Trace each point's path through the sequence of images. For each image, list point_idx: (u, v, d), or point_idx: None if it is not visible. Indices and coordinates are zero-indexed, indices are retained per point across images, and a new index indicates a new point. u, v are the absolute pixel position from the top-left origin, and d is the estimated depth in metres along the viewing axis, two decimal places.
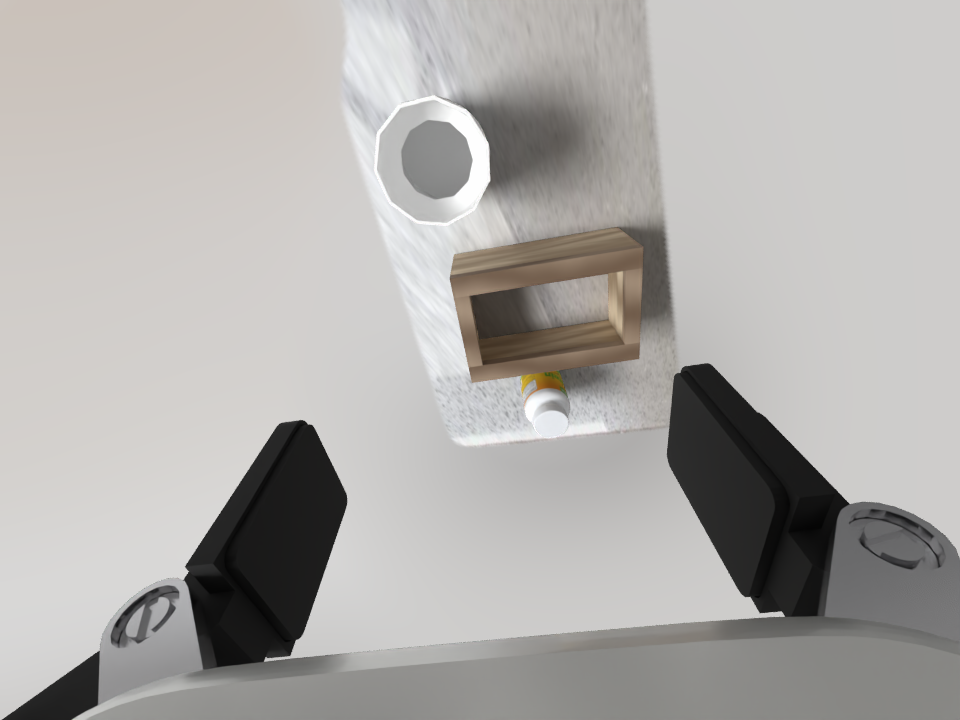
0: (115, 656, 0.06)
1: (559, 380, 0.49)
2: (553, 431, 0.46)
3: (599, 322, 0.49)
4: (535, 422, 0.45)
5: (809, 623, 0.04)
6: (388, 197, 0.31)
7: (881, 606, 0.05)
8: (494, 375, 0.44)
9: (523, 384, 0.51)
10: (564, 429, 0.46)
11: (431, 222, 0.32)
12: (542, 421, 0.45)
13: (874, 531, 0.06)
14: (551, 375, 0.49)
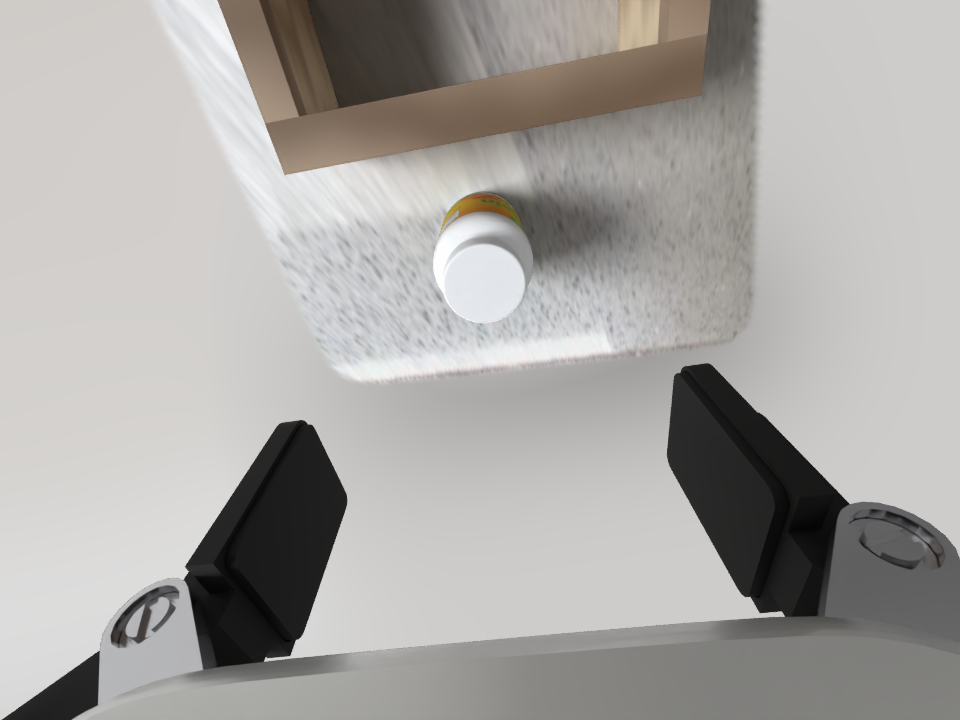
0: (115, 656, 0.06)
1: (512, 213, 0.23)
2: (490, 304, 0.19)
3: None
4: (445, 279, 0.19)
5: (809, 623, 0.04)
6: None
7: (881, 606, 0.05)
8: (336, 151, 0.17)
9: None
10: (516, 298, 0.19)
11: None
12: (463, 277, 0.19)
13: (874, 531, 0.06)
14: (494, 202, 0.23)
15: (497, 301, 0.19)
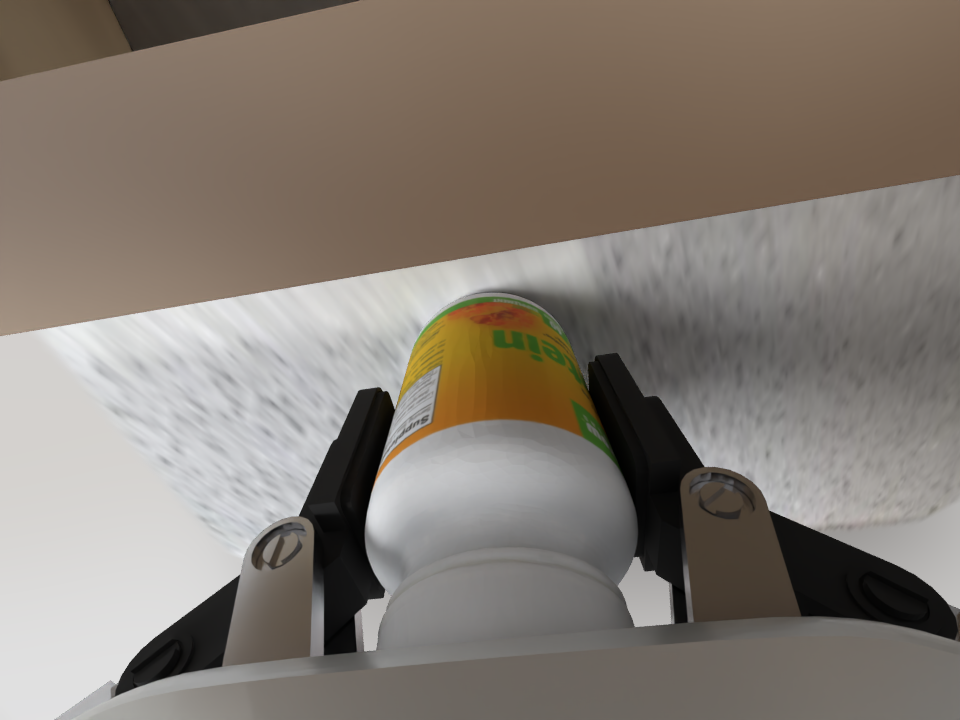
0: (261, 576, 0.07)
1: (569, 370, 0.10)
2: None
3: None
4: None
5: (809, 623, 0.04)
6: None
7: (691, 546, 0.06)
8: None
9: (401, 390, 0.11)
10: None
11: None
12: None
13: (707, 493, 0.07)
14: (525, 343, 0.10)
15: None
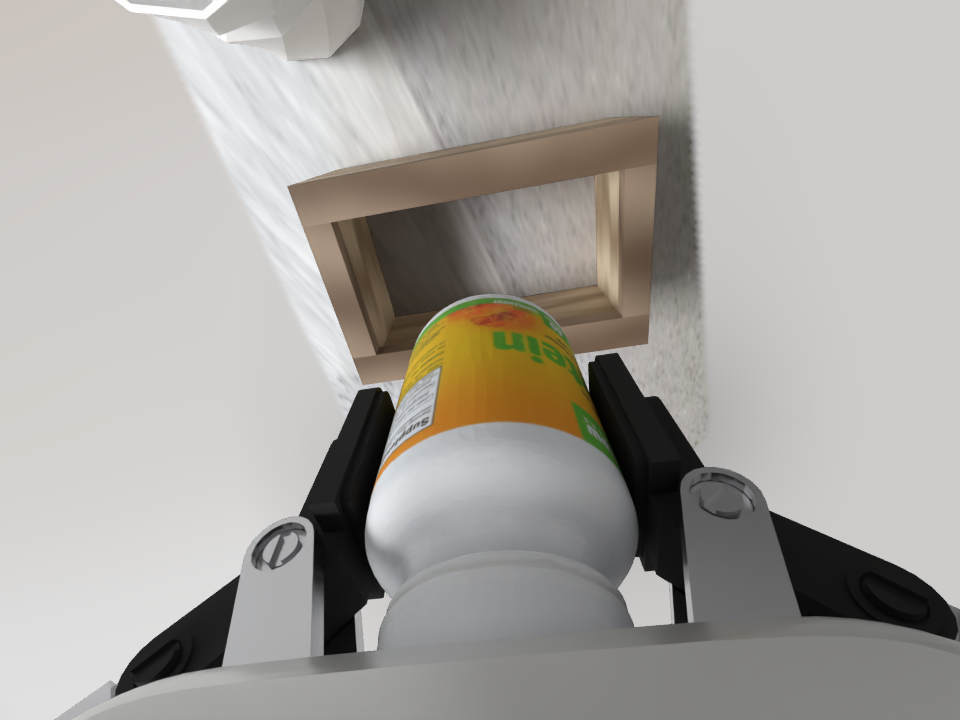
0: (261, 577, 0.07)
1: (569, 372, 0.10)
2: None
3: (583, 288, 0.31)
4: None
5: (810, 623, 0.04)
6: None
7: (691, 546, 0.06)
8: (399, 372, 0.26)
9: (401, 391, 0.11)
10: None
11: (167, 9, 0.14)
12: None
13: (707, 493, 0.07)
14: (526, 344, 0.10)
15: None
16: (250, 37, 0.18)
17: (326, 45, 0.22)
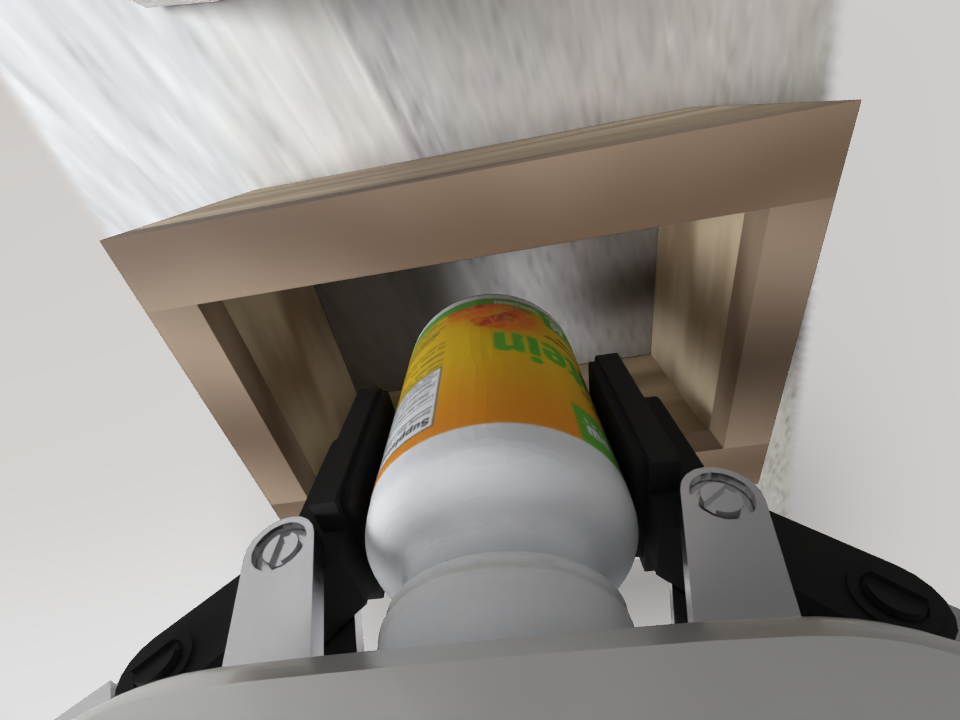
0: (261, 577, 0.07)
1: (569, 373, 0.10)
2: None
3: (630, 360, 0.21)
4: None
5: (809, 623, 0.04)
6: None
7: (691, 546, 0.06)
8: None
9: (401, 392, 0.11)
10: None
11: None
12: None
13: (707, 493, 0.07)
14: (525, 345, 0.10)
15: None
16: None
17: None
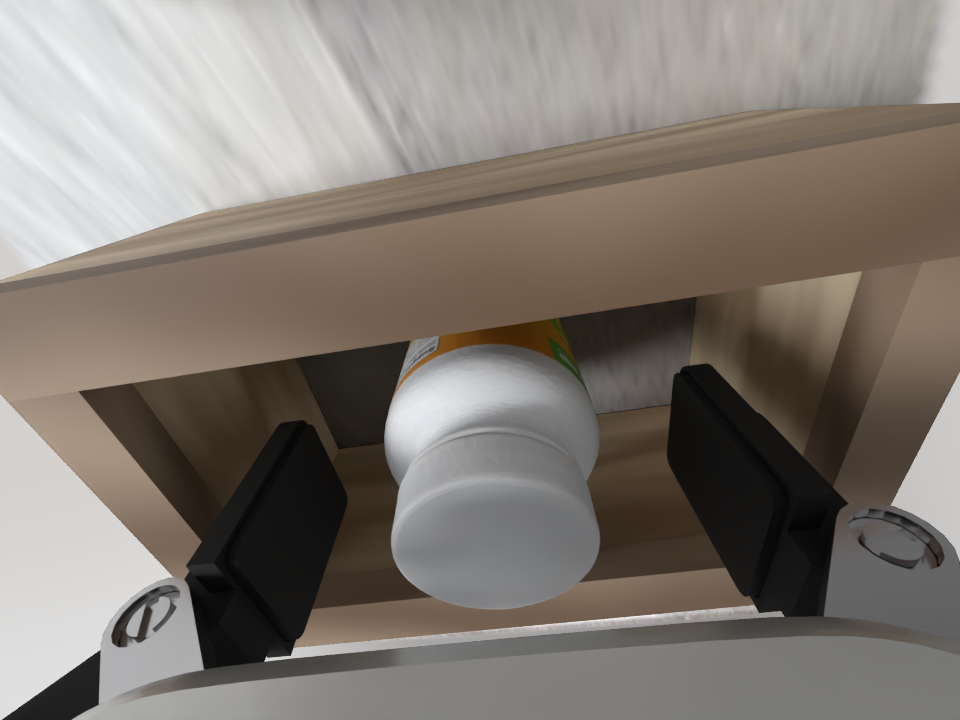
0: (116, 655, 0.06)
1: (549, 320, 0.12)
2: (510, 583, 0.08)
3: (660, 411, 0.18)
4: (397, 541, 0.07)
5: (809, 623, 0.04)
6: None
7: (880, 605, 0.05)
8: (315, 636, 0.12)
9: (410, 342, 0.13)
10: (572, 574, 0.08)
11: None
12: (441, 539, 0.07)
13: (873, 531, 0.06)
14: None
15: (526, 578, 0.08)
16: None
17: None
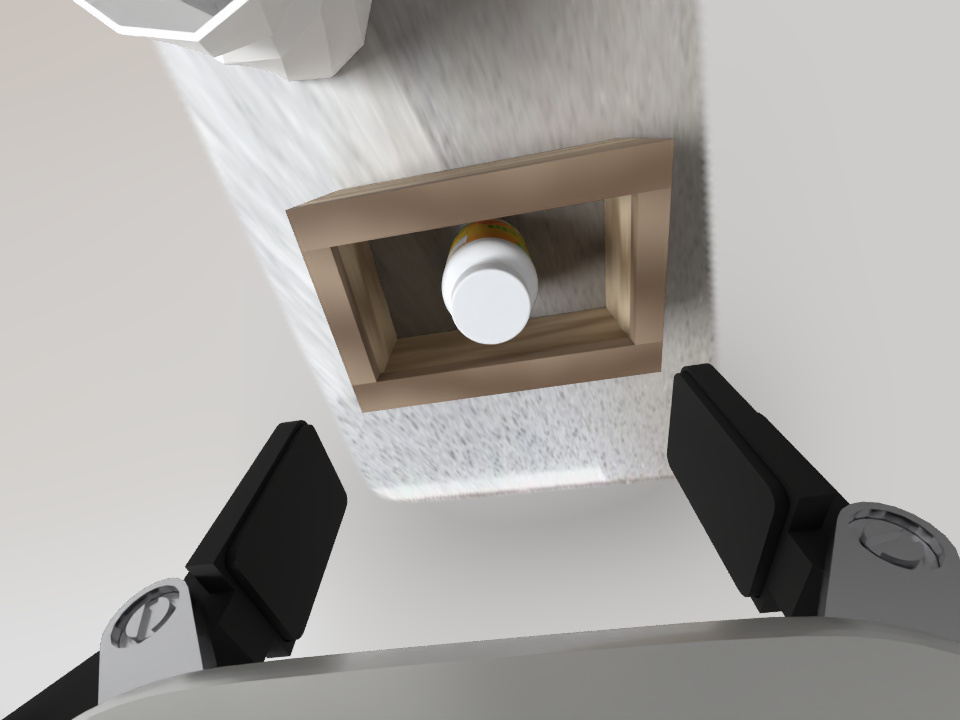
0: (115, 656, 0.06)
1: (518, 238, 0.24)
2: (497, 326, 0.20)
3: (591, 311, 0.30)
4: (453, 302, 0.20)
5: (809, 623, 0.04)
6: None
7: (881, 606, 0.05)
8: (400, 400, 0.24)
9: None
10: (521, 321, 0.20)
11: (157, 31, 0.13)
12: (470, 300, 0.20)
13: (874, 531, 0.06)
14: (501, 227, 0.24)
15: (503, 323, 0.20)
16: (248, 58, 0.17)
17: (328, 65, 0.21)
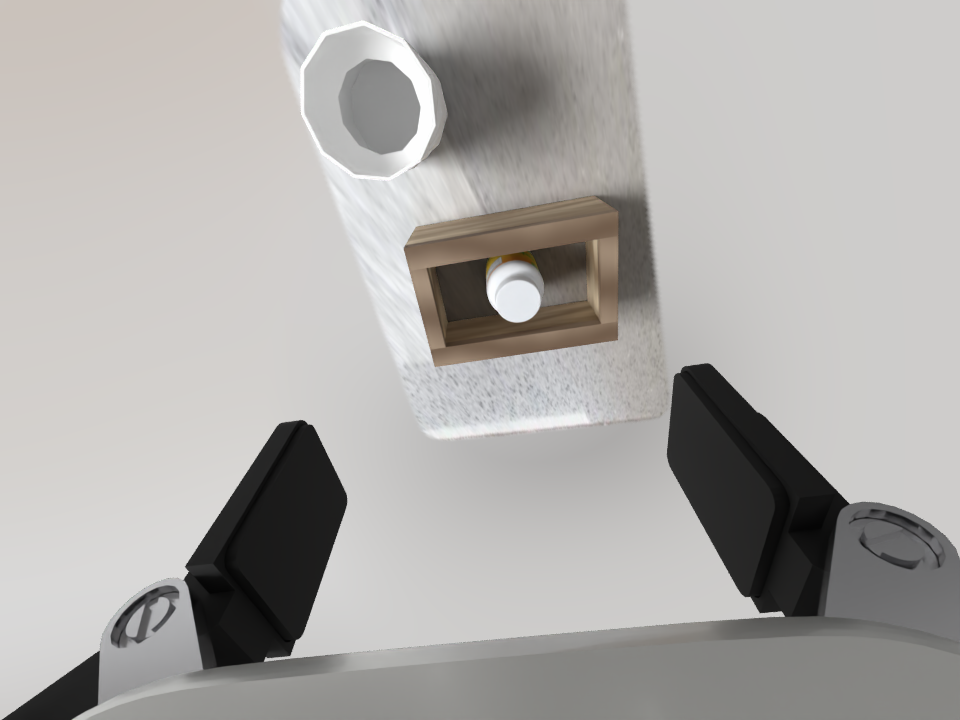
0: (115, 656, 0.06)
1: (531, 259, 0.39)
2: (521, 312, 0.35)
3: (577, 303, 0.45)
4: (497, 298, 0.35)
5: (810, 623, 0.04)
6: (320, 146, 0.27)
7: (881, 606, 0.05)
8: (459, 358, 0.40)
9: (487, 267, 0.40)
10: (535, 309, 0.35)
11: (371, 176, 0.28)
12: (507, 297, 0.35)
13: (874, 531, 0.06)
14: (521, 252, 0.39)
15: (525, 310, 0.35)
16: None
17: (421, 160, 0.36)
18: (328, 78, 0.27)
